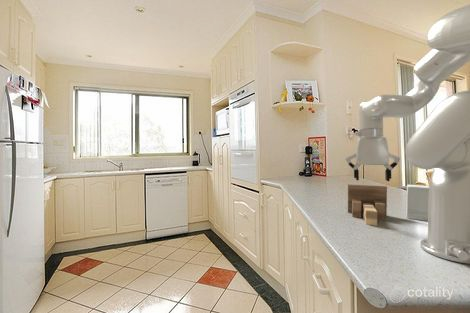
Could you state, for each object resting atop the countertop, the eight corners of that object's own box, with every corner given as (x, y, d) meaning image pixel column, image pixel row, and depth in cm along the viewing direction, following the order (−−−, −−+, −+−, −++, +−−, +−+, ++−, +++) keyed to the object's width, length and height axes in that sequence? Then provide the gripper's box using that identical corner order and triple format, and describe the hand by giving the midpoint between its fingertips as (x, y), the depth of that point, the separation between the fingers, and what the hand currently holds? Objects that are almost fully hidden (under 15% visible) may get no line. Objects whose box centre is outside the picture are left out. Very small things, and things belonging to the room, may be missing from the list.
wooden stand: (389, 220, 85) (390, 189, 85) (348, 216, 91) (348, 186, 90) (385, 215, 92) (386, 186, 91) (347, 211, 98) (347, 184, 97)
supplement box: (431, 221, 83) (431, 188, 83) (406, 218, 88) (406, 186, 87) (429, 217, 89) (430, 185, 89) (406, 213, 94) (406, 183, 93)
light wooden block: (377, 225, 79) (377, 211, 79) (365, 224, 81) (365, 210, 81) (372, 216, 90) (372, 203, 90) (361, 215, 92) (362, 202, 92)
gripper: (345, 134, 83) (346, 180, 83) (402, 132, 76) (403, 182, 76) (344, 136, 90) (345, 179, 90) (396, 134, 83) (397, 180, 83)
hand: (372, 180), depth 83 cm, fingers open, 9 cm apart
